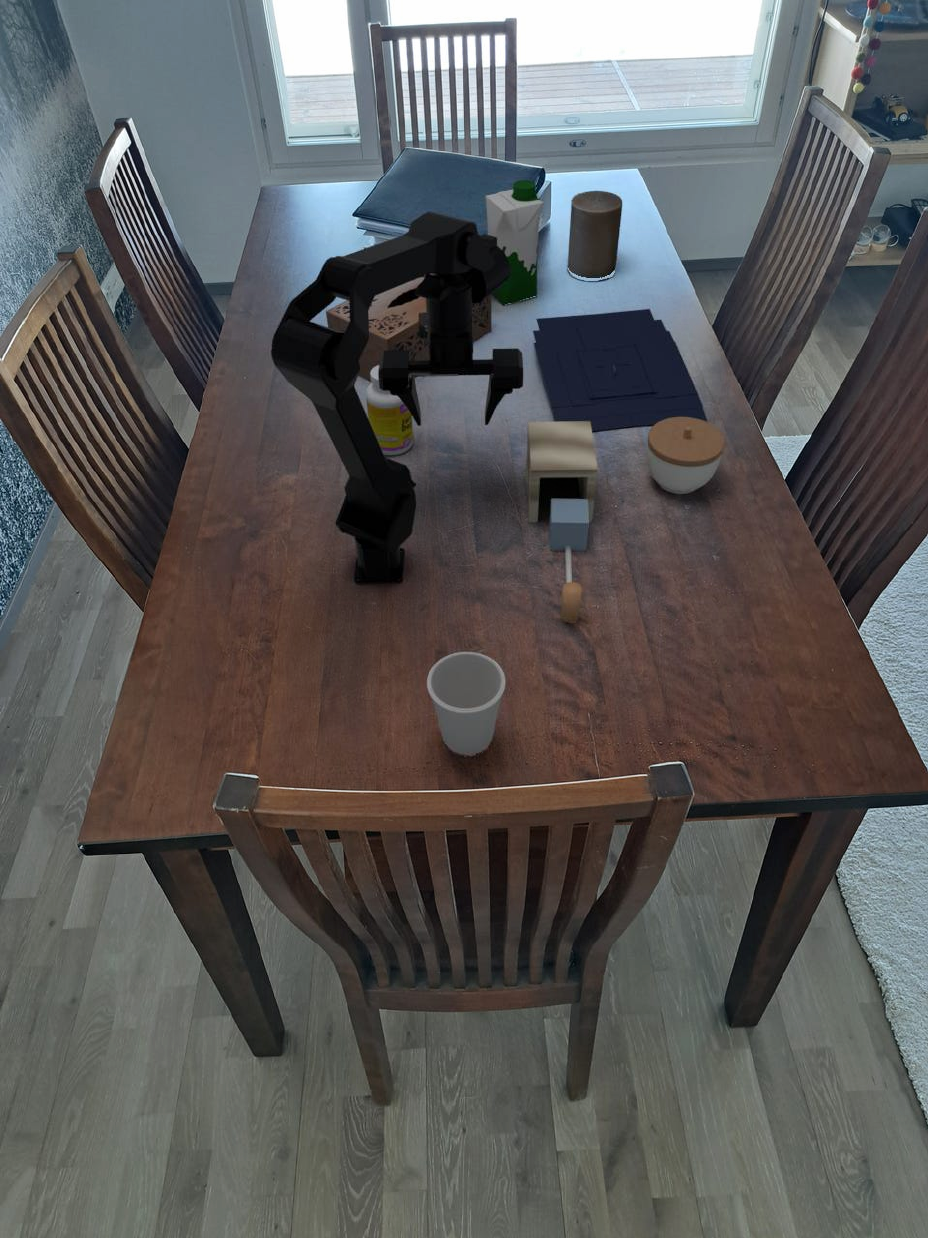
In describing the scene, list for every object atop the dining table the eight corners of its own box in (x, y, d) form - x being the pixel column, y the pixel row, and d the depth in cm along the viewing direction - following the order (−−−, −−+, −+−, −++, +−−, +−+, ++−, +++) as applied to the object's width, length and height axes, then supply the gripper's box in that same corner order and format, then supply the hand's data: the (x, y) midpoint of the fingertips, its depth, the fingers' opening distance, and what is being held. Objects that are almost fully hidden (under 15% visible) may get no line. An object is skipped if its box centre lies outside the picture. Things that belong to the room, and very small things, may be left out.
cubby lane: (591, 521, 129) (597, 469, 122) (529, 522, 129) (531, 470, 122) (585, 472, 136) (590, 421, 130) (526, 473, 137) (527, 421, 130)
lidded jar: (718, 465, 137) (730, 412, 130) (711, 509, 130) (724, 456, 123) (646, 454, 139) (655, 402, 132) (636, 497, 132) (644, 444, 125)
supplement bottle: (408, 459, 140) (402, 386, 130) (366, 454, 141) (357, 382, 131) (418, 434, 144) (413, 361, 135) (377, 429, 145) (370, 357, 136)
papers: (657, 321, 164) (660, 303, 161) (705, 433, 147) (710, 416, 144) (524, 332, 163) (525, 315, 160) (557, 448, 145) (559, 430, 142)
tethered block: (589, 623, 115) (593, 596, 112) (550, 622, 116) (552, 594, 112) (585, 526, 128) (587, 499, 124) (549, 526, 128) (551, 498, 125)
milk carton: (543, 298, 173) (548, 190, 159) (500, 309, 171) (501, 200, 156) (522, 279, 179) (525, 173, 164) (480, 289, 176) (479, 182, 162)
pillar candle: (623, 266, 182) (632, 189, 171) (602, 286, 176) (609, 208, 165) (580, 255, 185) (586, 179, 174) (557, 275, 180) (562, 197, 169)
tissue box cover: (433, 308, 172) (431, 256, 165) (491, 333, 166) (491, 280, 158) (333, 364, 159) (325, 311, 152) (391, 393, 153) (386, 339, 145)
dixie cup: (504, 707, 106) (506, 651, 99) (503, 767, 101) (504, 712, 93) (433, 706, 107) (429, 649, 100) (428, 765, 101) (423, 710, 94)
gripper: (521, 286, 119) (518, 390, 131) (379, 288, 120) (389, 391, 131) (525, 330, 112) (521, 436, 123) (373, 332, 112) (383, 437, 123)
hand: (453, 423), depth 125 cm, fingers open, 9 cm apart
